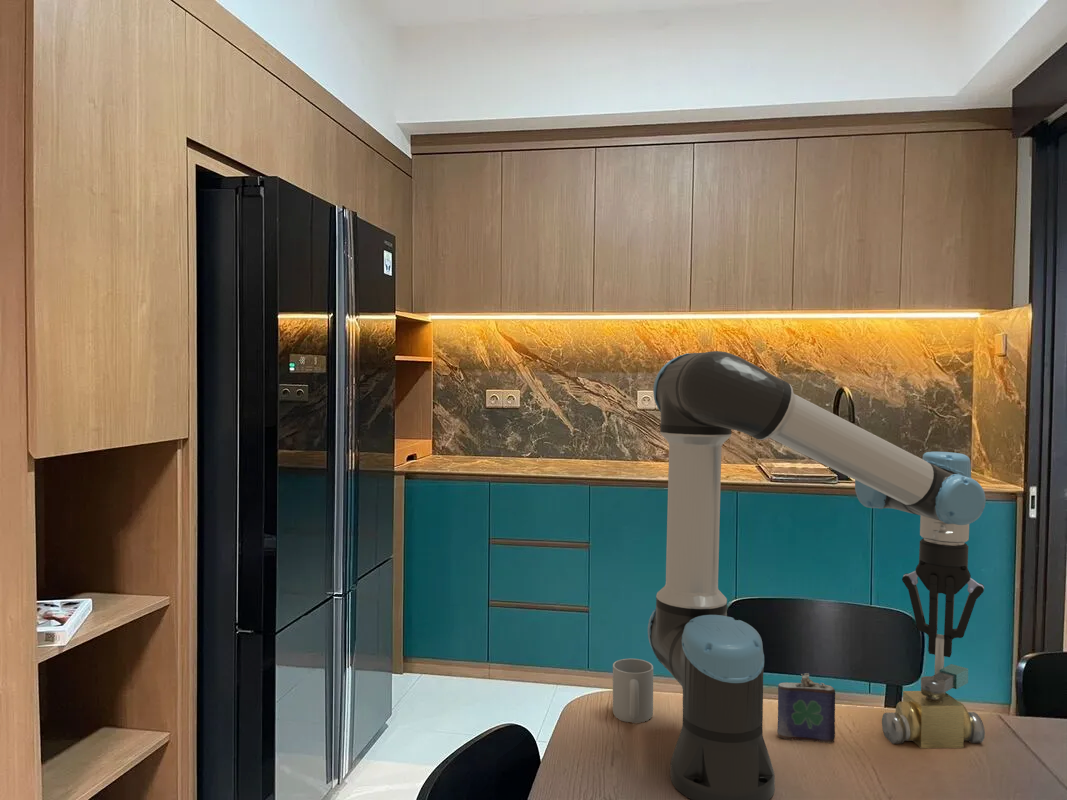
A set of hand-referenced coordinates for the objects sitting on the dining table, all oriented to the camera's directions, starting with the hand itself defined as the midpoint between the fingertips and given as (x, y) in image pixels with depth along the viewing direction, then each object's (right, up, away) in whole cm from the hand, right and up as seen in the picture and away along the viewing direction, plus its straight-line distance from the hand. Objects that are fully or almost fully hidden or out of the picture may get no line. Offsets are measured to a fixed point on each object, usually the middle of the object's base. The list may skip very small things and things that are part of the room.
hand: (939, 673), depth 134 cm
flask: (-26, -9, -6) cm, 28 cm away
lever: (-1, -1, -4) cm, 5 cm away
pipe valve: (-5, -9, -7) cm, 12 cm away
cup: (-54, -9, +2) cm, 55 cm away
